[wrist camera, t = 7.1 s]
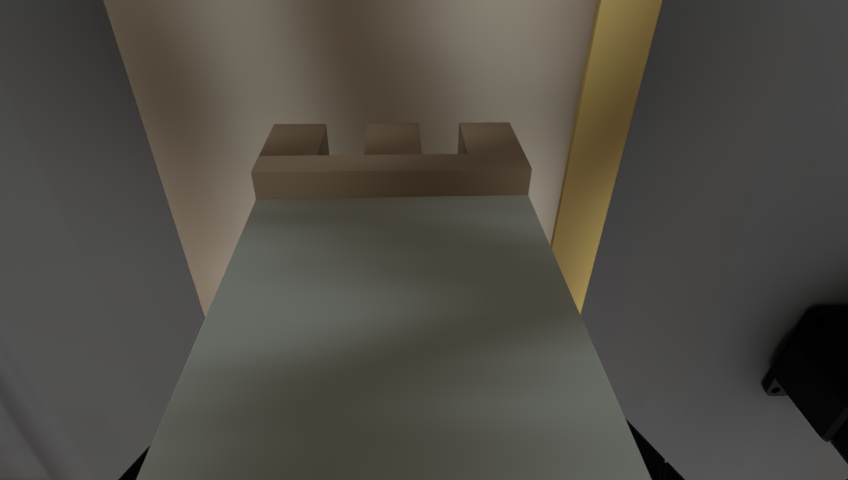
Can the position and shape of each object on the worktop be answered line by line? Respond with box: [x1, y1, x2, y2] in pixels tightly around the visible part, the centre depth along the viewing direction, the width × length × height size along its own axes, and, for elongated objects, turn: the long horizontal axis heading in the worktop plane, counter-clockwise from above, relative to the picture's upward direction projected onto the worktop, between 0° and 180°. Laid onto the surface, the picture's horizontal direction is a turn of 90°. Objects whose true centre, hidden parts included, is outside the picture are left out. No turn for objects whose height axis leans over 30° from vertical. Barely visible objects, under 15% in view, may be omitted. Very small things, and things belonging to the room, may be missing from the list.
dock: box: [103, 0, 662, 317], centre depth 17 cm, size 14×16×4 cm
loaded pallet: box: [136, 122, 652, 480], centre depth 9 cm, size 5×7×8 cm, turn 179°
